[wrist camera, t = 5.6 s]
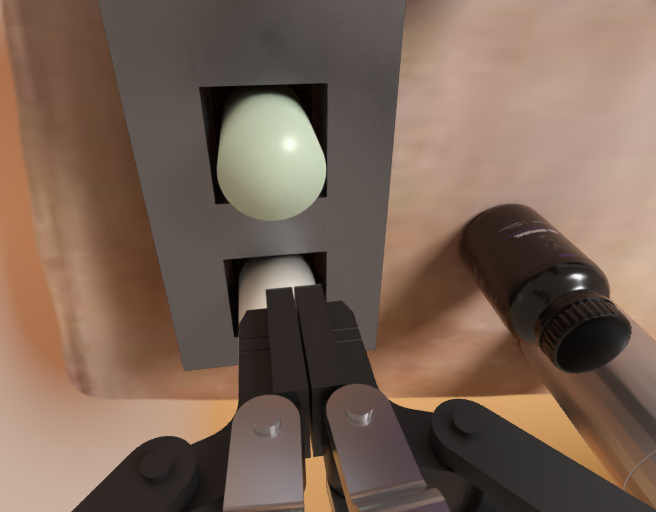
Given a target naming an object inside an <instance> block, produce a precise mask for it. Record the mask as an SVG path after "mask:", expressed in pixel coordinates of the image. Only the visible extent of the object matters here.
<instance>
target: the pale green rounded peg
mask: <svg viewBox="0 0 656 512" xmlns="http://www.w3.org/2000/svg"><path fill="white" fill-rule="evenodd" d="M217 177H218V182H219V185H220V188H221V190H222V192H223V194H224V196H225V197H226V199H227V200H228V201H229V202H230V203H231V205H232V206H234V207H235V208H236V209H237V210H239V211H240V212H242V213H243V214H245V215H247V216H249V217H252V218H255V219H259V220H266V221H277V220H284V219H288V218H291V217H293V216H296V215H298V214H300V213H301V212H303V211H304V210H306V209H307V208H308V207H309V206H310V205H312V203H313V202H314V201H315V200H316V199H317V197H318V196H319V194H320V192H321V190H322V188H323V185H324V182H325V177H326V162H325V157H324V154H323V152H322V149H321V147H320V144H319V142H318V140H317V137H316V135H315V133H314V130H313V128H312V126H311V123H310V121H309V119H308V116H307V114H306V112H305V109H304V107H303V105H302V102H301V100H300V99H299V97H298V95H297V94H296V93H295V92H294V90H293V89H292V88H290V87H289V86H288V85H287V84H277V85H244V86H236V87H235V88H234V89H233V90H232V91H231V93H230V94H229V96H228V97H227V99H226V102H225V104H224V108H223V114H222V124H221V133H220V143H219V152H218V162H217Z"/></svg>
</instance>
